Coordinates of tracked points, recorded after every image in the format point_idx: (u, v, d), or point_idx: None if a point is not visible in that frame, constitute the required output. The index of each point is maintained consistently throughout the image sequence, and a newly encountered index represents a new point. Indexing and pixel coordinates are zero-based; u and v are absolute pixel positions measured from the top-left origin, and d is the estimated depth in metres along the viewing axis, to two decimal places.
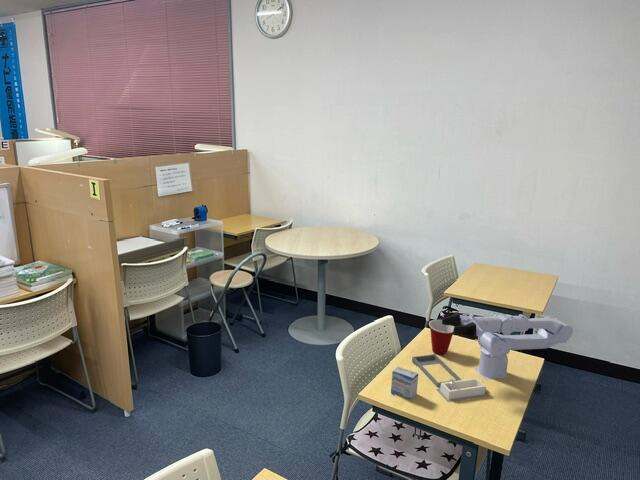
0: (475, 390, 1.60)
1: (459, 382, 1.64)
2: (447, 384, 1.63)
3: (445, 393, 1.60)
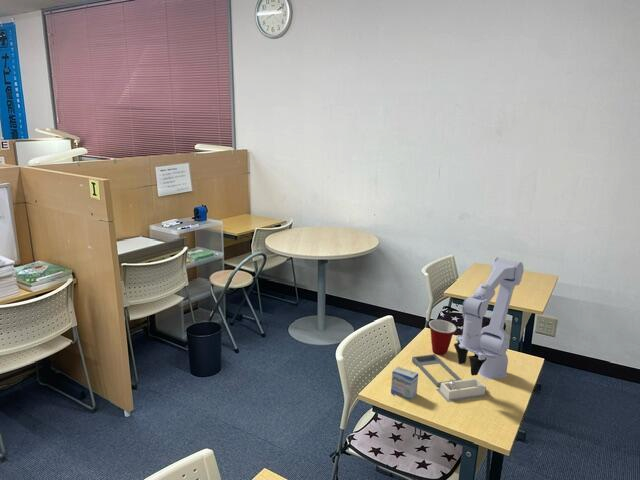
0: (475, 390, 1.60)
1: (459, 382, 1.64)
2: (447, 384, 1.63)
3: (445, 393, 1.60)
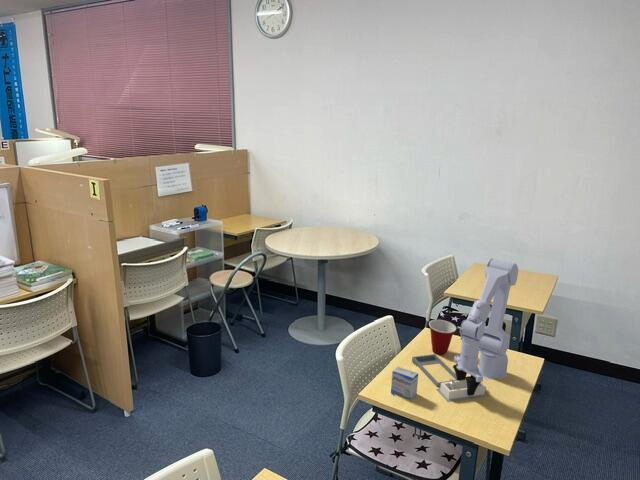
0: None
1: (459, 382, 1.64)
2: (447, 384, 1.63)
3: (445, 393, 1.60)
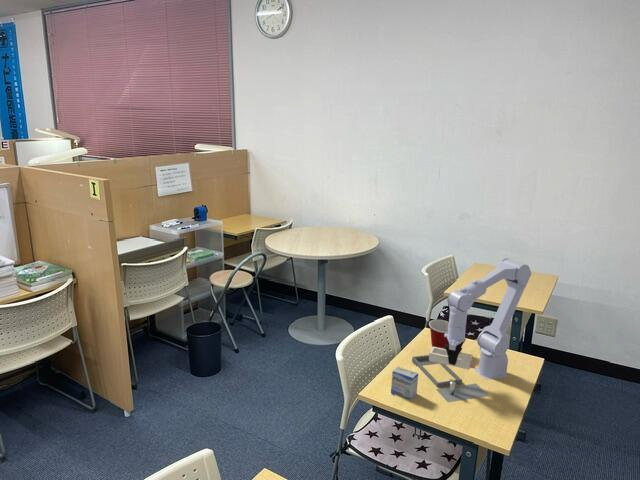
0: (458, 361, 1.63)
1: None
2: (437, 349, 1.70)
3: None
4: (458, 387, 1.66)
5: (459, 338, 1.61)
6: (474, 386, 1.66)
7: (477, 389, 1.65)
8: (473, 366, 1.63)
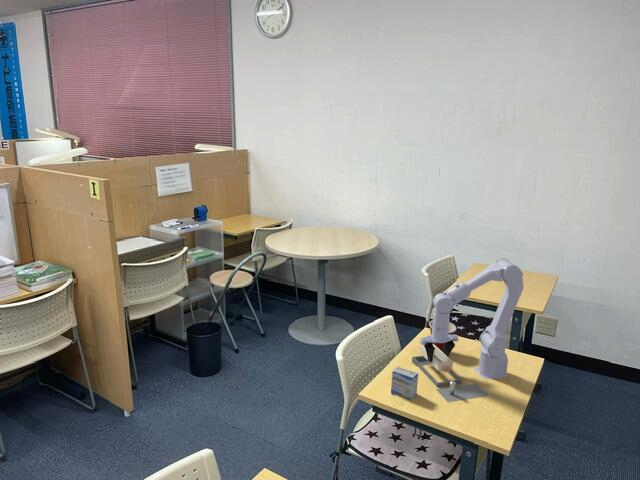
0: (433, 360, 1.72)
1: (440, 353, 1.76)
2: None
3: None
4: (458, 387, 1.66)
5: (435, 338, 1.70)
6: (474, 386, 1.66)
7: (477, 389, 1.65)
8: (444, 370, 1.68)
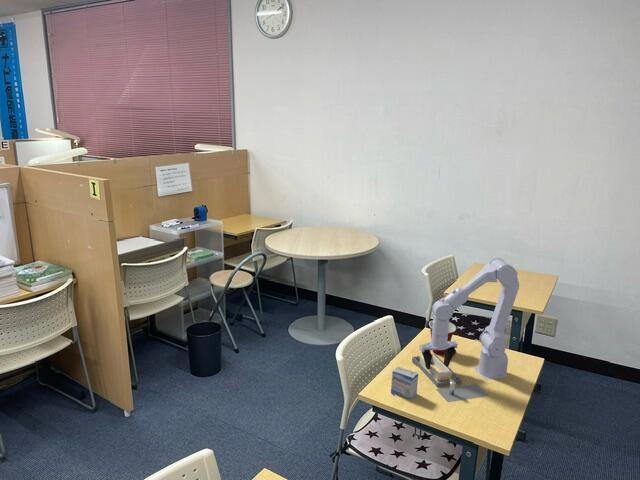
0: (432, 371, 1.73)
1: (440, 363, 1.77)
2: (433, 357, 1.81)
3: None
4: (458, 387, 1.66)
5: (435, 345, 1.71)
6: (474, 386, 1.66)
7: (477, 389, 1.65)
8: (443, 380, 1.69)
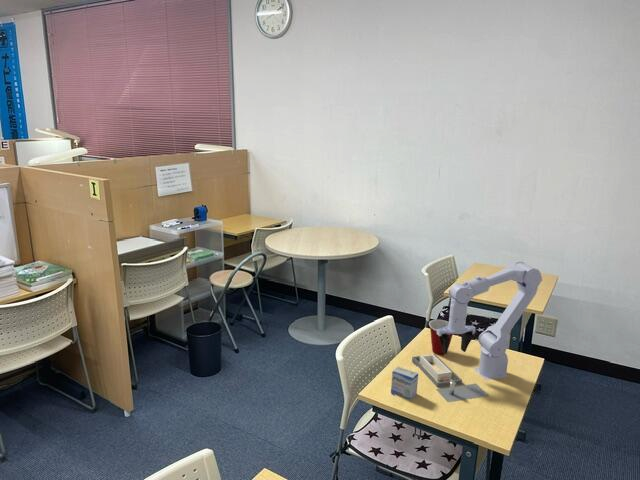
0: (432, 371, 1.73)
1: (440, 363, 1.77)
2: (433, 357, 1.81)
3: None
4: (458, 387, 1.66)
5: (452, 329, 1.67)
6: (474, 386, 1.66)
7: (477, 389, 1.65)
8: (443, 380, 1.69)
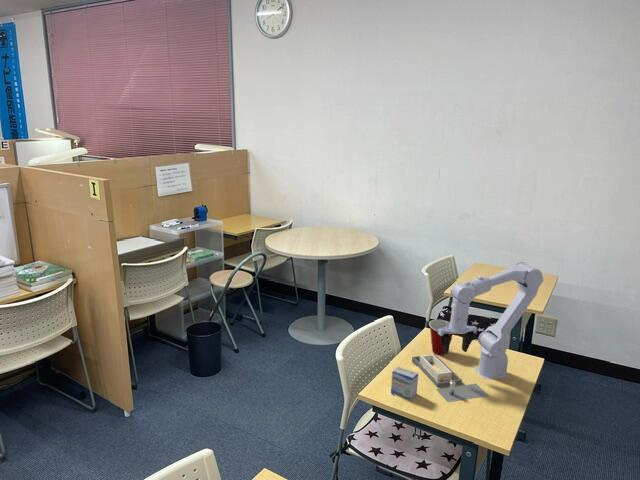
0: (432, 371, 1.73)
1: (440, 363, 1.77)
2: (433, 357, 1.81)
3: None
4: (458, 387, 1.66)
5: (454, 329, 1.66)
6: (474, 386, 1.66)
7: (477, 389, 1.65)
8: (443, 380, 1.69)
